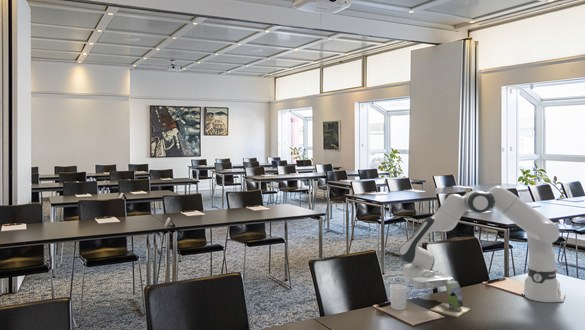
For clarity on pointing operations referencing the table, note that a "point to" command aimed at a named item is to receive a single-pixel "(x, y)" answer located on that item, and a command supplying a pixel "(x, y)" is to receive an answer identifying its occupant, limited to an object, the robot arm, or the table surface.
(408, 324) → the table surface
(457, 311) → the birch mat
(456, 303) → the beverage can
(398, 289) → the white cup
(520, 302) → the table surface
